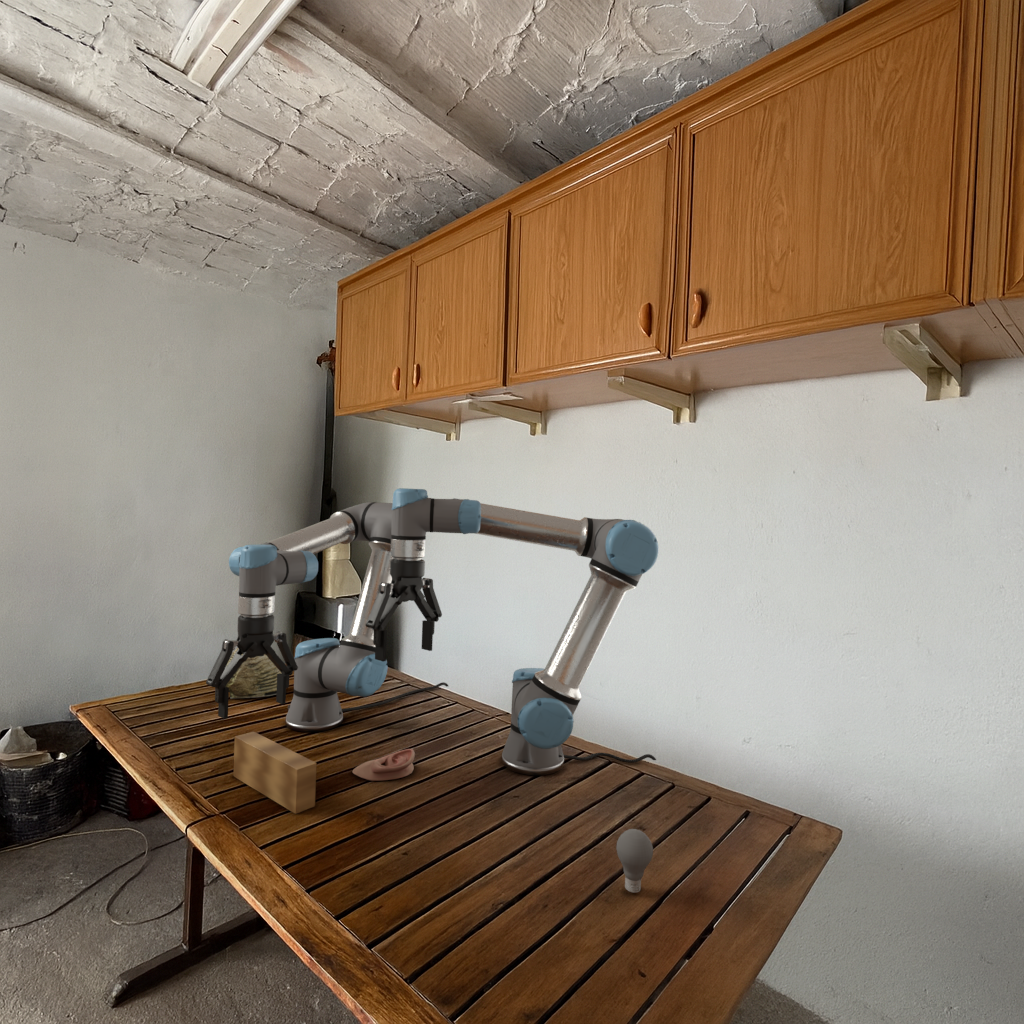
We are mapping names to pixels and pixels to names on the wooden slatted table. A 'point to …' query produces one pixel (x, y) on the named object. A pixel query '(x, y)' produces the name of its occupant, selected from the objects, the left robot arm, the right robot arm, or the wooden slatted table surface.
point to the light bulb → (634, 857)
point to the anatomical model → (387, 766)
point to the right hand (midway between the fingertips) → (404, 654)
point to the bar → (275, 771)
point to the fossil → (254, 678)
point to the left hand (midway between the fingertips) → (252, 709)
